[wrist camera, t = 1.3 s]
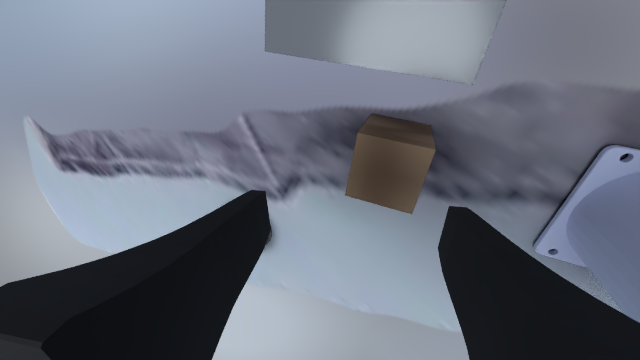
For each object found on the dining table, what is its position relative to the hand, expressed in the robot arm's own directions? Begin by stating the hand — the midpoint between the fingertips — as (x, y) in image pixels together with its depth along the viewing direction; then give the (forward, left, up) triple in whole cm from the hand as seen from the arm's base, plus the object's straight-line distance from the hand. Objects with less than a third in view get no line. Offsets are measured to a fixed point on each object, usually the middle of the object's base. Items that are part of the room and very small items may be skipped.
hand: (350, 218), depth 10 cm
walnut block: (-1, 0, -10) cm, 10 cm away
